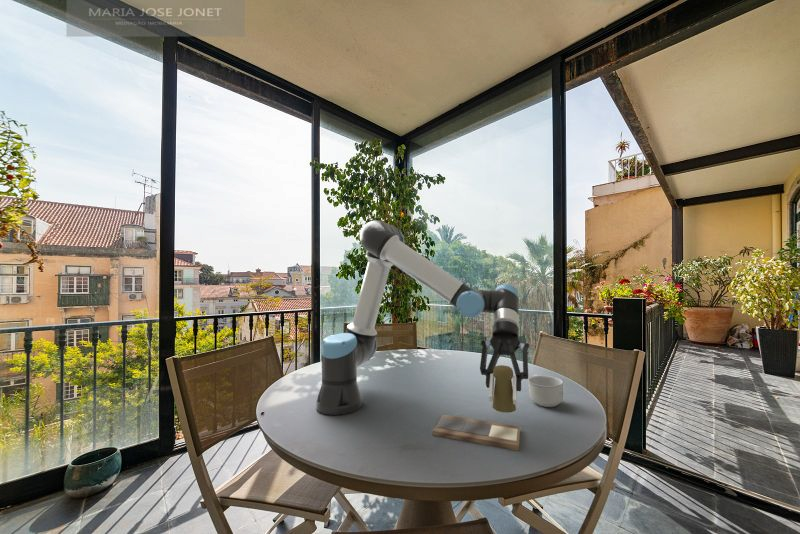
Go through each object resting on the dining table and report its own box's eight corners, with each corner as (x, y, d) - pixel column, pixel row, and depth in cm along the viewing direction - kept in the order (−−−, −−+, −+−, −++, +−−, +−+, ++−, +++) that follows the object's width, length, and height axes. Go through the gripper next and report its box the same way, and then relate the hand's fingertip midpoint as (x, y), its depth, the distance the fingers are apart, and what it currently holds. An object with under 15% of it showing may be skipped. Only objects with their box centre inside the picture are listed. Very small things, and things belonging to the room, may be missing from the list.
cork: (517, 405, 87) (515, 364, 87) (515, 414, 81) (513, 370, 82) (494, 402, 89) (493, 362, 90) (490, 410, 84) (489, 368, 84)
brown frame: (432, 435, 87) (432, 430, 87) (443, 418, 97) (443, 414, 97) (518, 450, 78) (518, 445, 78) (520, 430, 89) (520, 426, 89)
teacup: (568, 411, 101) (567, 385, 101) (531, 409, 103) (531, 384, 104) (555, 395, 115) (555, 373, 115) (524, 393, 117) (523, 371, 117)
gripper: (537, 335, 97) (541, 412, 81) (477, 332, 104) (469, 402, 88) (537, 320, 92) (541, 398, 76) (473, 318, 99) (464, 389, 83)
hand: (502, 400), depth 82 cm, fingers closed on cork, 5 cm apart
